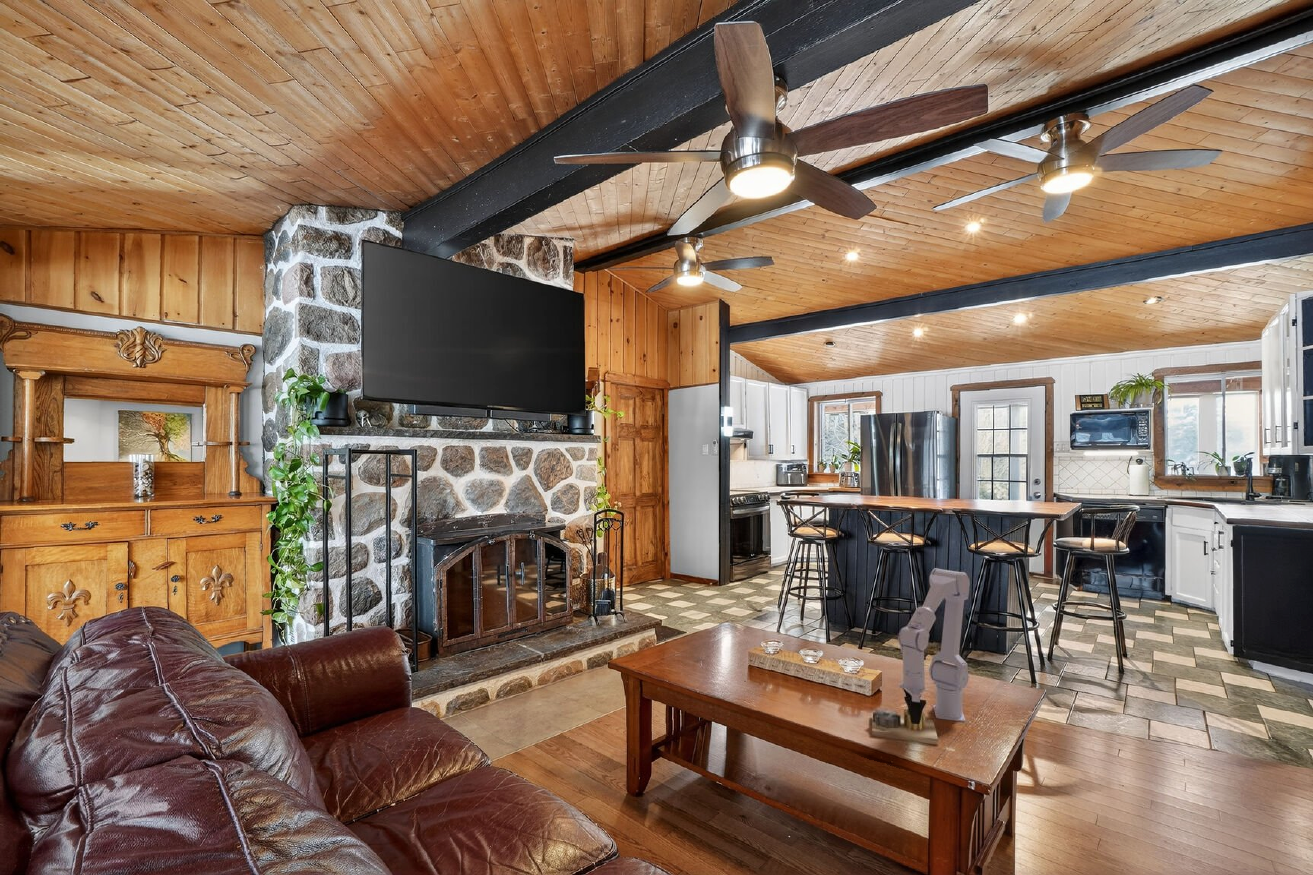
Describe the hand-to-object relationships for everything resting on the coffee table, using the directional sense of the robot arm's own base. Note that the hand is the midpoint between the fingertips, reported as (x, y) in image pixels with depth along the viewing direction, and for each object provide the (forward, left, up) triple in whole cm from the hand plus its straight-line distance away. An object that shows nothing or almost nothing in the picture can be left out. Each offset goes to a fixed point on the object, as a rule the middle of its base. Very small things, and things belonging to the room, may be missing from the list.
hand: (914, 717), depth 174 cm
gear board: (0, -3, -4) cm, 5 cm away
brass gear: (0, 0, -2) cm, 2 cm away
